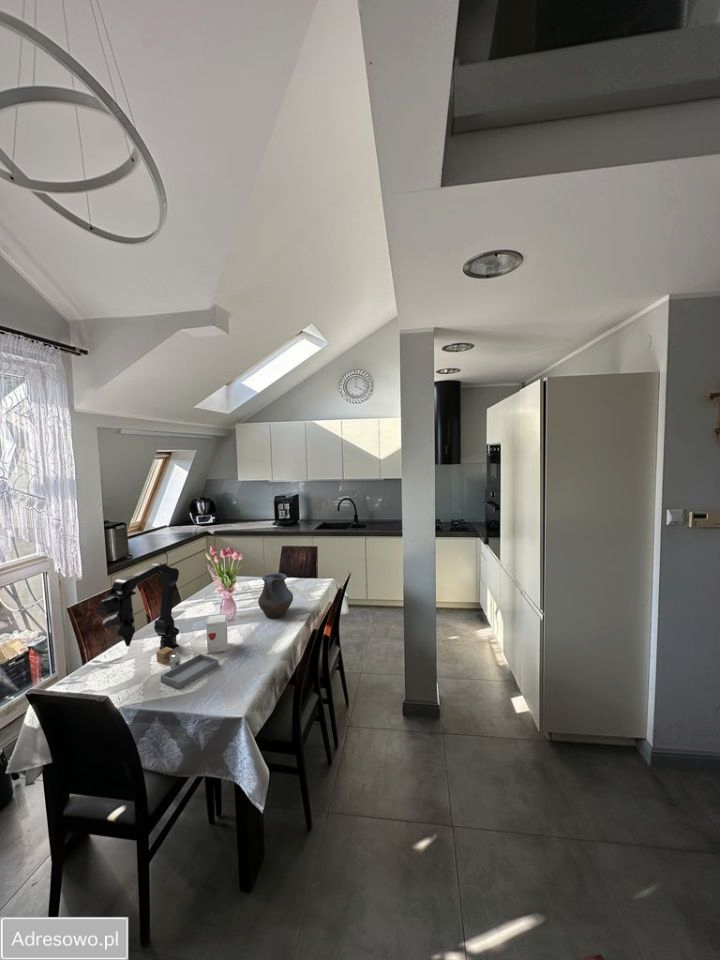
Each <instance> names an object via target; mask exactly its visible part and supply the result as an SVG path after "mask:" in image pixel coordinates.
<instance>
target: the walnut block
mask: <svg viewBox="0 0 720 960" xmlns="http://www.w3.org/2000/svg"><path fill="white" fill-rule="evenodd" d="M173 653H174V648H173V649H171V648H168V647H165V648H163V649H159V650H157V651H156V663H159V664H161V665H166V664H168V663H170V655H171V654H173Z"/></svg>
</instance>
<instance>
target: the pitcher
mask: <svg viewBox="0 0 720 960" xmlns="http://www.w3.org/2000/svg"><path fill="white" fill-rule="evenodd" d="M287 578H288V576H287V575H286V574H285V573H281V572H280V573H279V572H278V573H277V572H276V573H275V572H274V573H268V574H265V575H263V576H262V578H261V580H263V582H264V584H263V589H262V592H261V593H260V595H259V598H258V601H257V603H258V606H259V608H260V610H261V611H262V612H263V614H264V616H265V617H266V618H269V619H279V618H282V617H284V616H285V614H286V613H287V611H288V610H289V608H290V606H291V604H292V602H293V601H294V595H293V593H292V591H291V590H290V589H289V588H288V586H287V583H286V581H285V580H286V579H287Z"/></svg>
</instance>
